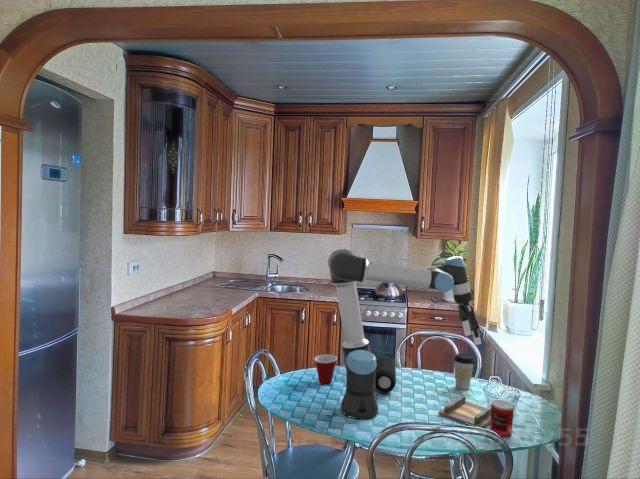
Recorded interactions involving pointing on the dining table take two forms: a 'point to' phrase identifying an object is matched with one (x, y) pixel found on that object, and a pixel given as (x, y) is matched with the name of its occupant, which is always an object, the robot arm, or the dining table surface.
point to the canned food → (501, 418)
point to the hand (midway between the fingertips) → (473, 339)
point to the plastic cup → (325, 367)
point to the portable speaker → (385, 374)
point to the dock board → (467, 412)
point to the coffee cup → (463, 370)
